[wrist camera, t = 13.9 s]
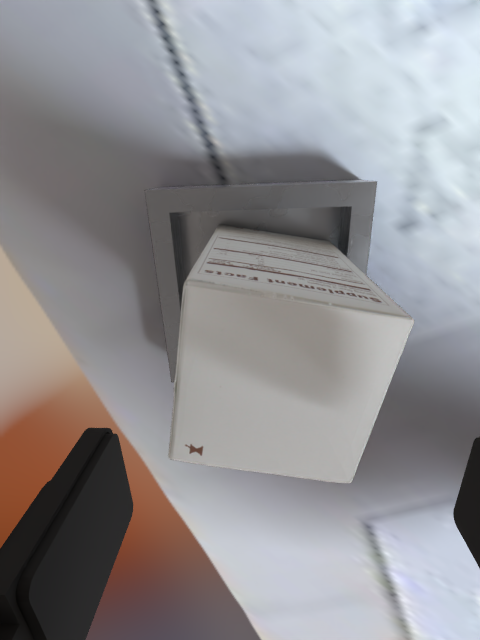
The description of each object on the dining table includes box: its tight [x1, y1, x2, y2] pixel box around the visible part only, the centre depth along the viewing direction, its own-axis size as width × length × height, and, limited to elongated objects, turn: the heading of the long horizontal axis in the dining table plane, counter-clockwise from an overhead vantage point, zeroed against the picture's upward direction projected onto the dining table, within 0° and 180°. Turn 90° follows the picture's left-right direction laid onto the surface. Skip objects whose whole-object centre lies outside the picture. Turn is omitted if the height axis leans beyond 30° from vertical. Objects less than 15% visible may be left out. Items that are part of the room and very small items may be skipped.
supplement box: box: [168, 225, 414, 483], centre depth 17 cm, size 7×7×13 cm
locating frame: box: [145, 180, 377, 382], centre depth 22 cm, size 12×12×3 cm
